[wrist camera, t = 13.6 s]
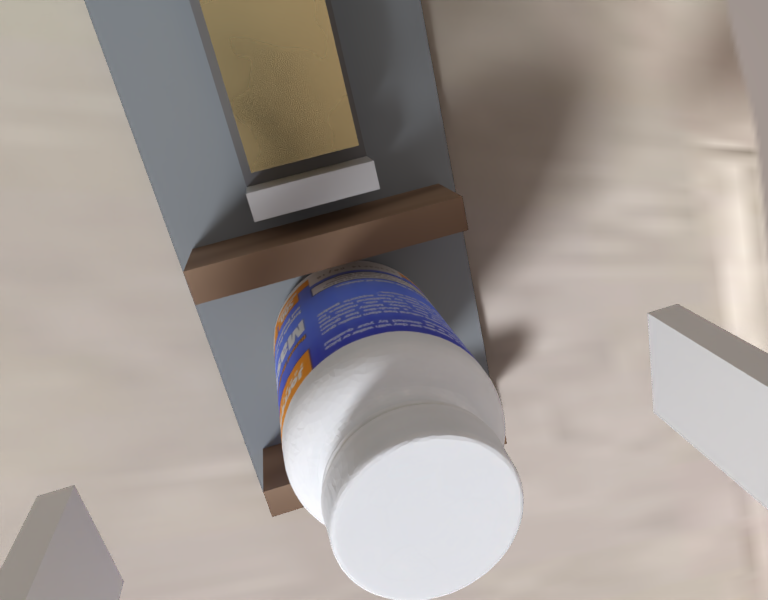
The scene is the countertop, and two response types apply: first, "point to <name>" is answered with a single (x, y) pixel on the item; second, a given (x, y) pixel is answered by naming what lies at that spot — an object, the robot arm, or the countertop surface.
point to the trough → (318, 267)
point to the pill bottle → (392, 434)
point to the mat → (227, 185)
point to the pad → (281, 78)
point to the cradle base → (301, 178)
